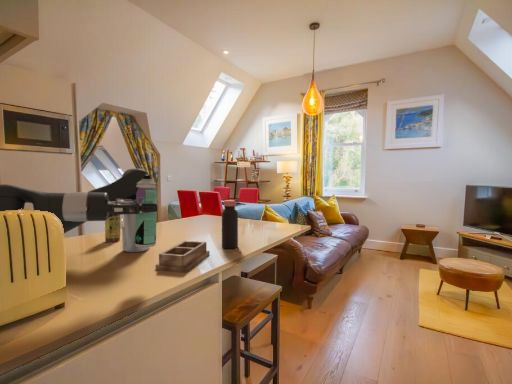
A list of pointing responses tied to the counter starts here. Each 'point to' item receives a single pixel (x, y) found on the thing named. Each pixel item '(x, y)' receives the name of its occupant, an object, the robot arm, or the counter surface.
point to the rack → (182, 256)
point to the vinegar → (229, 225)
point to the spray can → (146, 213)
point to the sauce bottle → (112, 228)
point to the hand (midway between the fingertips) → (156, 206)
